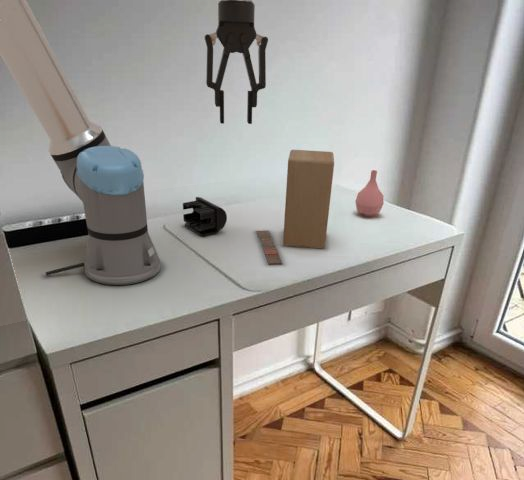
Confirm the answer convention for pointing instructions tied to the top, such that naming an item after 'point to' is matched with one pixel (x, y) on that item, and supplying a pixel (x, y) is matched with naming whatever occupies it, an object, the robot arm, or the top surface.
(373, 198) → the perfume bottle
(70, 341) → the top surface
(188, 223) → the end cap
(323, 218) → the wooden block
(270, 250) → the ruler
